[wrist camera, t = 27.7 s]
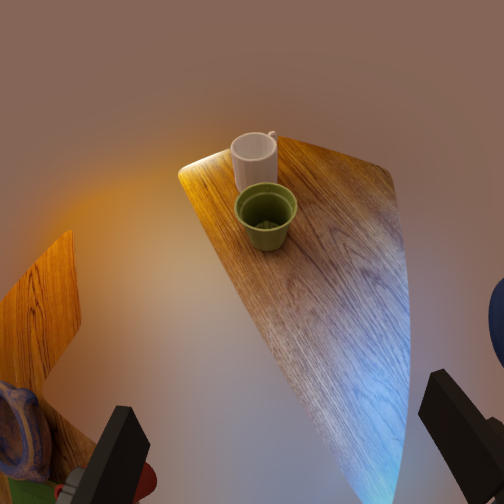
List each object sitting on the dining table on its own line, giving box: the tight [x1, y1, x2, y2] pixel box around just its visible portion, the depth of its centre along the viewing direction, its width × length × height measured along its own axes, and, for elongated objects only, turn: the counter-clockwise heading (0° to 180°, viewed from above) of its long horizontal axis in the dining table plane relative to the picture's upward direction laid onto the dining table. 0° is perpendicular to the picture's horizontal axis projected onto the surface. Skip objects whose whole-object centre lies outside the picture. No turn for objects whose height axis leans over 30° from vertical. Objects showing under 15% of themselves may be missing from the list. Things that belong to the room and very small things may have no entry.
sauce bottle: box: [55, 462, 157, 504], centre depth 24 cm, size 7×7×18 cm
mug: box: [231, 131, 278, 193], centre depth 54 cm, size 8×12×10 cm
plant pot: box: [234, 182, 297, 251], centre depth 47 cm, size 9×9×9 cm
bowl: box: [0, 381, 52, 484], centre depth 29 cm, size 18×18×10 cm
